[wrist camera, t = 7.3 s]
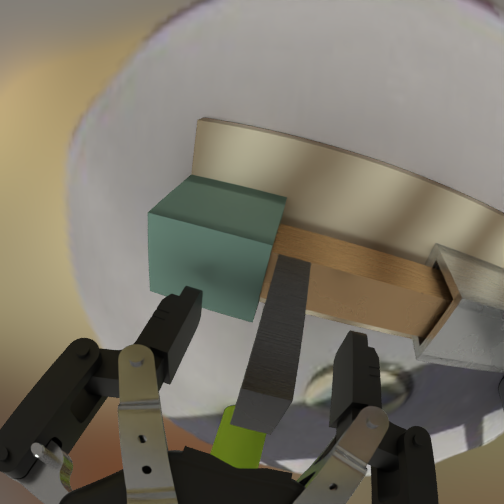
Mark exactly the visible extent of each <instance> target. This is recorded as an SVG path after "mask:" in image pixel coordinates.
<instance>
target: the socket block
mask: <svg viewBox="0 0 504 504" xmlns="http://www.w3.org/2000/svg"><path fill="white" fill-rule="evenodd" d="M286 200H287V197H284V196H280V195H276V194H272V193H268V192H264V191H260V190H256V189H252V188H248V187H244V186H240V185H236V184H231V183H227V182H223V181H218V180H214V179H209V178H205V177H200V176H196V175H190V176H189V177H188V178H187V179H186V180H184V181H183V182H182V183H181V184H180V185H179V186H177V187H176V188H175V189H174V190H173V191H172V192H170V193H169V194H168V195H167V196H166V197H165V198H164V199H162V200H161V201H160V202H159V203H158V204H157V205H156V206H155V207H153V208H152V209H151V210H150V211H149V212H148V257H149V280H150V291H152V292H155V293H158V294H161V295H164V296H169V295H170V294H175V295H178V296H180V294H181V292H182V291H183V289H184V287H185V286H190V287H193V288H196V289H200V290H202V291H203V298H202V308H205V309H208V310H211V311H215V312H218V313H221V314H225V315H228V316H231V317H235V318H238V319H242V320H245V321H249V322H252V323H253V319H254V316H255V313H256V310H257V306H258V303H259V300H260V293H261V290H262V286H263V282H264V278H265V274H266V270H267V266H268V262H269V258H270V254H271V251H272V247H273V244H274V241H275V237H276V234H277V231H278V227H279V224H281V220H282V216H283V212H284V208H285V204H286Z"/></svg>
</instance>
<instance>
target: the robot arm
mask: <svg viewBox="0 0 504 504" xmlns="http://www.w3.org/2000/svg"><path fill="white" fill-rule="evenodd" d="M202 298H203V291H202V290H200V289H196V288H193V287H190V286H185V287H184V289H183V291H182V292H181V294H180V296H178V295H175V294H170V295H169V296H167V297H166V298H164V299H163V300H162V301H161V303H160V304H159V306H158V307H157V310H155V312H154V313H153V315H152V317H151V318H150V320H149V321H148V323H147V325H146V326H145V328H144V329H143V331H142V333H141V334H140V336H139V337H138V339H137V341H136V342H135V343H134V344H133V345H129V346H127V347H125V348H124V349H123V350H109V349H99V347H98V345H97V343H96V342H94V341H93V340H91V339H88V338H80V339H77V340H75V341H73V342H72V343H71V344H70V345H69V346H68V347H67V348H66V350H65V351H64V352H63V353H62V354H61V355H60V356H59V358H58V359H57V360H56V361H55V362H54V363H53V364H52V366H51V367H50V368H49V369H48V370H47V372H46V373H45V374H44V375H43V376H42V377H41V379H40V380H39V381H38V382H37V384H36V385H35V386H34V387H33V389H32V390H31V391H30V392H29V393H28V395H27V396H26V397H25V398H24V400H23V401H22V402H21V403H20V405H19V406H18V407H17V408H16V410H15V411H14V412H13V414H12V415H11V416H10V418H9V419H8V420H7V421H6V423H5V424H4V425H3V427H2V428H1V429H0V471H1V472H3V473H4V474H6V475H7V476H8V477H10V478H12V479H14V480H15V481H17V482H19V483H21V484H22V485H23V486H24V487H25V488H26V489H27V490H29V491H30V492H31V493H32V494H33V495H34V496H36V497H37V498H38V499H39V500H40V501H42V502H43V503H44V504H346V503H347V501H348V500H349V498H350V497H351V496H352V494H353V493H354V491H355V490H356V488H357V487H358V485H359V484H360V482H361V481H362V479H363V478H364V476H365V475H366V473H367V468H366V466H367V464H368V465H371V484H372V504H438V492H437V481H436V472H435V464H434V456H433V449H432V443H431V438H430V435H429V433H428V432H427V431H426V430H425V429H424V428H422V427H419V426H413V427H411V428H409V429H408V430H406V429H404V428H401V427H399V426H397V425H395V424H393V423H391V422H390V421H389V419H388V416H387V414H386V413H385V412H384V411H383V410H382V403H381V381H380V370H379V368H380V366H379V357H378V355H377V353H376V351H375V349H374V348H371V347H368V339H367V335H366V334H363V333H359V332H354V331H349V333H348V334H347V336H346V338H345V339H344V341H343V343H342V344H341V346H340V348H339V349H338V351H337V353H336V356H335V359H334V365H333V382H332V397H331V410H330V421H329V427H332V428H337V431H336V435H335V436H334V437H333V438H332V440H331V441H330V442H329V444H328V445H327V446H326V448H325V449H324V450H323V451H322V453H321V454H320V455H319V457H318V458H317V459H316V460H315V461H314V463H313V464H312V465H311V466H310V467H309V468H308V469H307V470H306V471H305V472H304V473H303V474H302V475H301V476H300V478H299V479H298V480H297V481H295V480H293V479H291V477H292V473H288V472H283V471H277V470H272V469H267V468H236V467H233V466H232V465H230V464H228V463H226V462H224V461H222V460H220V459H219V458H217V457H215V456H213V455H211V454H208V453H205V452H201V451H198V450H195V449H193V448H189V447H187V446H185V448H184V450H183V451H179V450H173V451H168V446H167V441H166V435H165V430H164V424H163V417H162V410H161V403H160V396H159V390H160V388H161V386H162V384H163V382H164V383H167V384H171V382H172V380H173V378H174V375H175V373H176V371H177V369H178V367H179V365H180V363H181V361H182V358H183V356H184V354H185V352H186V350H187V348H188V346H189V344H190V342H191V339H192V337H193V335H194V333H195V331H196V329H197V327H198V324H199V321H200V317H201V309H202ZM498 390H499V394H500V398H501V402H502V406H503V410H504V378H503V380H502V381H501V383H500V385H499V389H498ZM107 397H116V398H120V404H119V405H118V422H119V435H120V445H121V454H122V462H123V469H122V470H120V471H119V472H116V473H114V474H112V475H109V476H107V477H105V478H103V479H100V480H98V481H96V482H93V483H91V484H88V485H86V486H84V487H82V488H78V489H76V490H74V491H72V489H71V486H70V482H69V481H70V475H71V473H72V470H73V464H72V460H71V458H70V457H69V455H68V454H69V452H70V451H71V449H72V448H73V446H74V445H75V443H76V442H77V441H78V439H79V438H80V436H81V435H82V433H83V432H84V430H85V429H86V427H87V426H88V424H89V423H90V422H91V420H92V419H93V417H94V416H95V414H96V413H97V411H98V410H99V409H100V407H101V406H102V404H103V403H104V402H105V400H106V399H107Z"/></svg>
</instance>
